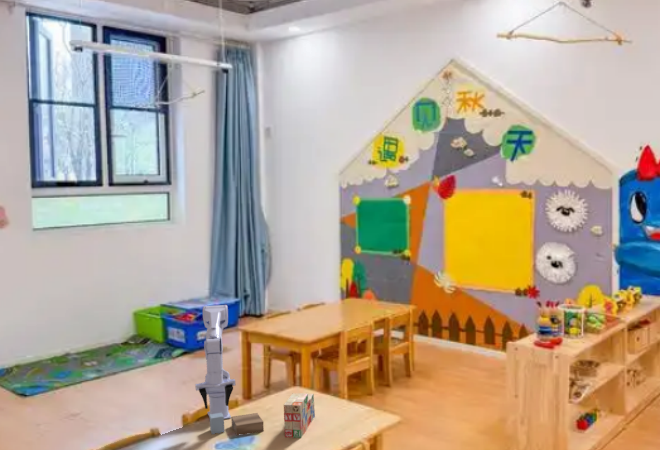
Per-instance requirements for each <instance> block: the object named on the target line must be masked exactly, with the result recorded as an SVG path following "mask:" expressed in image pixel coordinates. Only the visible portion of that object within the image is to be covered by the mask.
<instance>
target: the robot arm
mask: <svg viewBox="0 0 660 450" xmlns="http://www.w3.org/2000/svg"><path fill="white" fill-rule="evenodd" d="M228 308H229V307H228V305H227V304H221V305H220V304H219V305H218V304H217V305H204V306H203V307H202V320H203V324H204V328H206V333H205V334H206V336H205V341H204V342H203V343H204V344H203V347H204V355H205V361H206V374H205V377H204V379H205V380H204V381H203V382H199V383H195V384H194V386H195V391H196V392H197V391H198V392H199V394H200V396H201V398H202V401H203V403H204V409H206V410H207V409H208V400H209V411H207V415H208V418H209V419H210V415H209V414H216V413H222V414H223V416H224V420H226V419H231V417H232V416H231V413H230V412H229V404H230V403H229V402H230V397H231V395H232V392H233V390H234V386H236V379H235V378H233V379H231V375H230V372H229V371H227V370H225V369H224V363H223V358H224V357H223V351H224V345H223V333H224V332H223V331H224V328H227V327H228V323H229V309H228ZM207 398H208V399H207Z"/></svg>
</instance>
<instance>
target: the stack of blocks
mask: <svg viewBox="0 0 660 450" xmlns="http://www.w3.org/2000/svg"><path fill="white" fill-rule="evenodd" d="M314 398H315V397H314V393H292V394H291V395H290V396H289V397H288V398H287V400H286V401H285V403H284V404H283V417H284V418H283V419H284V422H283V423H284V438H296V439H297V438H298V439H301V438H303V436H304V435H305V433H306V432H307V430H308V428H309V426H310V425H311V423H312V422H313V420H314V419H313V418H315V415H316V414H315V411H316V410H315V399H314Z"/></svg>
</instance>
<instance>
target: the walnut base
mask: <svg viewBox="0 0 660 450" xmlns="http://www.w3.org/2000/svg"><path fill="white" fill-rule="evenodd" d="M230 419H231V428H232V429H233V431H234V433H235V435H236V434H237V435H236V436H240V435H239V434H243V435H248V434H247V433H250V434H254V433H255V432H256V433H260V432H264V420H263V419H262V418H261V416H260V414H259V413H258V412H255V413H248V414H241V415H234V416H231V418H230Z"/></svg>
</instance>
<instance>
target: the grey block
mask: <svg viewBox="0 0 660 450" xmlns="http://www.w3.org/2000/svg"><path fill="white" fill-rule="evenodd" d="M209 415H210V418H209V427H210V428H209V430H210V433H211V435H216V434H215V433H218V434H222V433H221V432H224V433H225V419H224V416H223V414H222V413H216V414H209ZM209 415H208V416H209Z"/></svg>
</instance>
